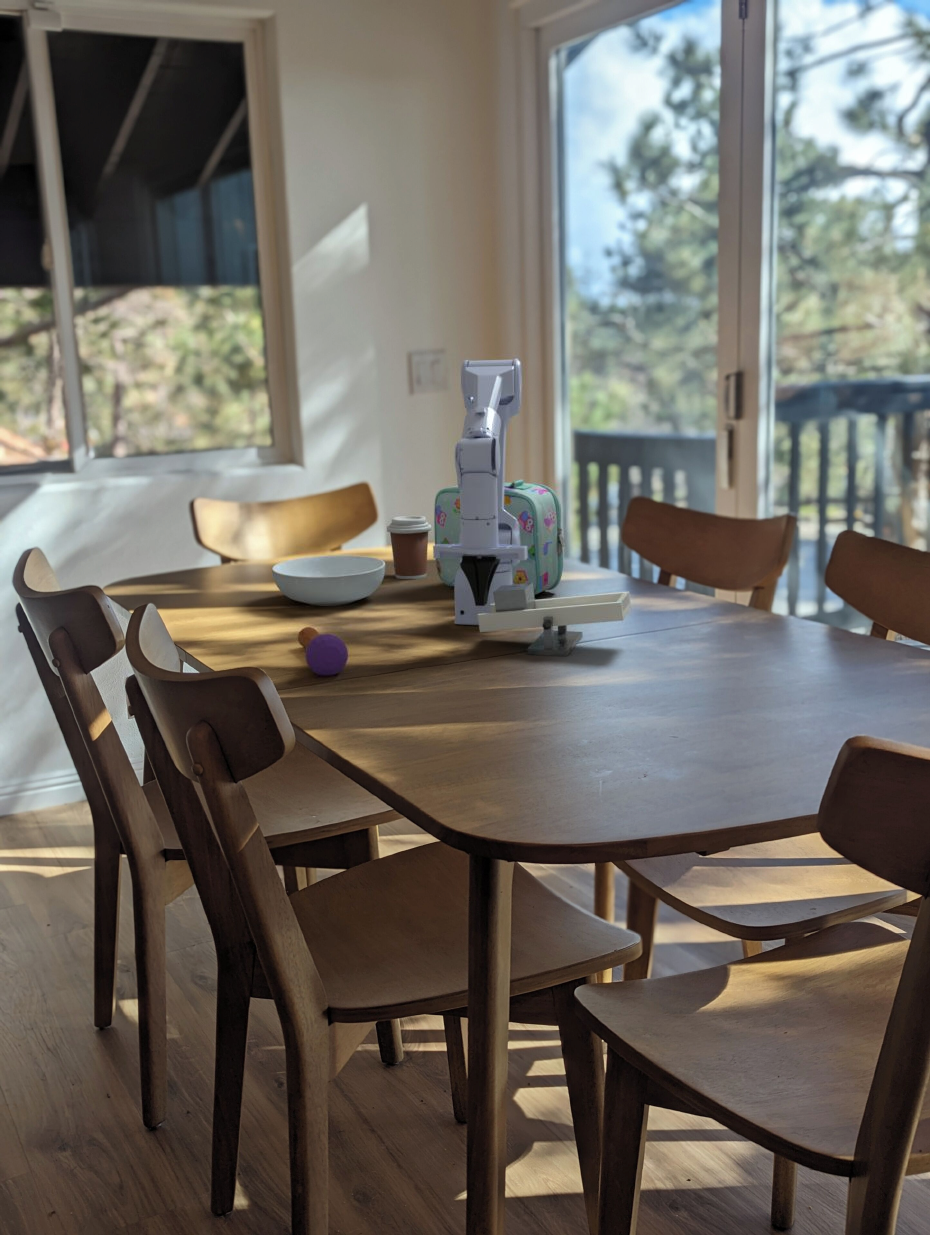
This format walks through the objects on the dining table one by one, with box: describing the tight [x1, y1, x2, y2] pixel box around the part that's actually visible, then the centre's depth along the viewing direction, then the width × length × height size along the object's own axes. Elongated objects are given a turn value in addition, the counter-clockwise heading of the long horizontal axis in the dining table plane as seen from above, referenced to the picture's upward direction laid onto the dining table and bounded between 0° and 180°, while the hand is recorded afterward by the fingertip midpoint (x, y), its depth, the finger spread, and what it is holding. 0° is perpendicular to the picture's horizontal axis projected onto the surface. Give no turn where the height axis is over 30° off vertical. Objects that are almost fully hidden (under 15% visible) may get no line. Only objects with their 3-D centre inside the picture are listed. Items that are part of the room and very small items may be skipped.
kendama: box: [297, 626, 349, 677], centre depth 169 cm, size 6×6×20 cm
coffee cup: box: [386, 515, 432, 580], centre depth 232 cm, size 9×9×12 cm
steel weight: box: [493, 583, 536, 612], centre depth 175 cm, size 5×5×4 cm
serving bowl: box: [271, 554, 386, 607], centre depth 211 cm, size 21×21×7 cm
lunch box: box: [433, 478, 567, 596], centre depth 214 cm, size 27×10×21 cm, turn 50°
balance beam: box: [478, 591, 632, 633], centre depth 173 cm, size 22×8×3 cm, turn 73°
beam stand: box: [526, 617, 583, 657], centre depth 174 cm, size 6×12×6 cm, turn 163°
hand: (481, 604), depth 177 cm, fingers closed
